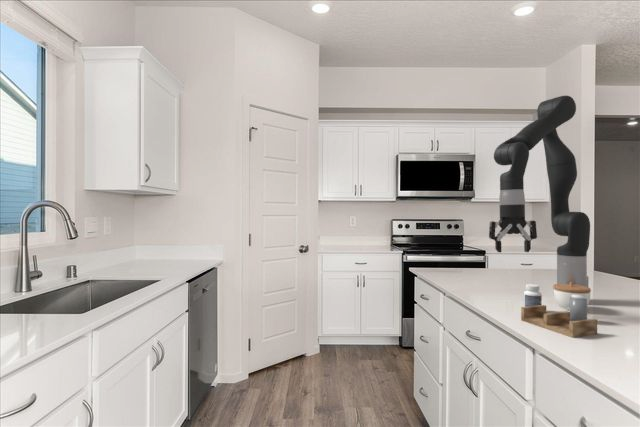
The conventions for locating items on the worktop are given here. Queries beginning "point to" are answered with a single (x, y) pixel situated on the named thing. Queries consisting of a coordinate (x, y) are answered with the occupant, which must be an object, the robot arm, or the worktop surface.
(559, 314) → the rack
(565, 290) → the lidded jar
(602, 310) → the worktop surface
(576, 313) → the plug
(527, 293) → the pill bottle
